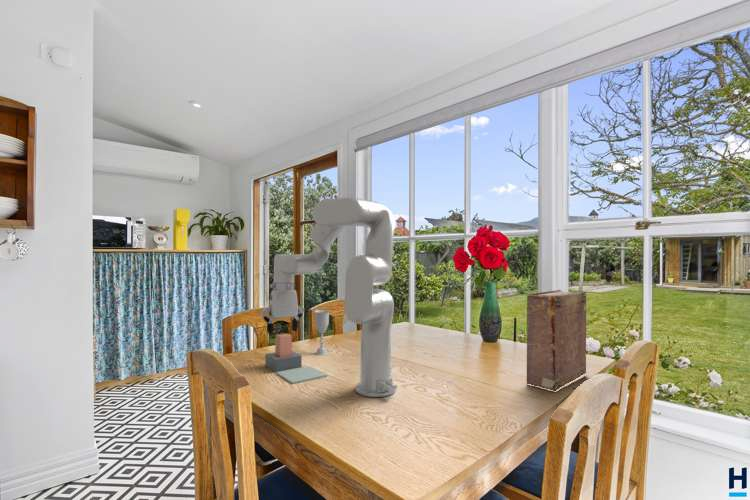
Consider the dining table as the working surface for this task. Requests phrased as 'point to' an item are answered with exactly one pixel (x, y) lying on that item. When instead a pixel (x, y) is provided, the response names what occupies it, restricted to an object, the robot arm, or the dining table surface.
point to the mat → (301, 374)
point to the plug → (283, 345)
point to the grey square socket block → (283, 362)
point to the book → (555, 338)
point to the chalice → (321, 327)
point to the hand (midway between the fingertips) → (282, 332)
